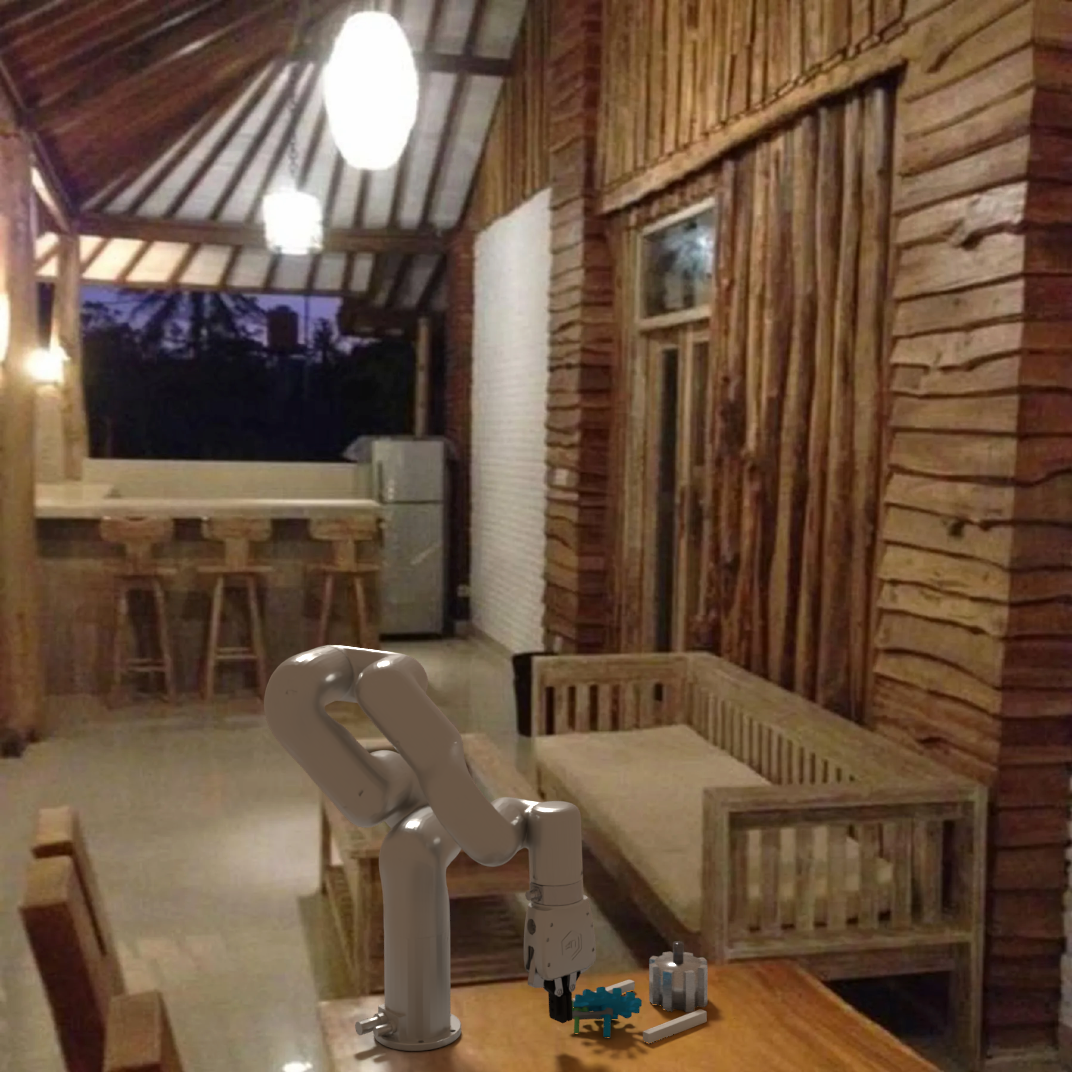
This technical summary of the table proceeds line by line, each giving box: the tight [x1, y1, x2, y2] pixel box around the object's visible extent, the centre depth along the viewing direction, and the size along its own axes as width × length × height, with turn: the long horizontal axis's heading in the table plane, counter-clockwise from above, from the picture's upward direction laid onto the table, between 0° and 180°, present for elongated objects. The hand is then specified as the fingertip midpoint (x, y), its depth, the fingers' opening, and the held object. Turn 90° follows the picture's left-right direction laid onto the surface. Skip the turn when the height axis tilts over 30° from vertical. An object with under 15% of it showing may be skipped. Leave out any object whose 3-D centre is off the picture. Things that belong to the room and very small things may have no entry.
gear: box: [572, 986, 643, 1038], centre depth 192 cm, size 11×6×10 cm
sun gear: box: [648, 940, 709, 1013], centre depth 204 cm, size 9×9×9 cm
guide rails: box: [572, 979, 708, 1044], centre depth 198 cm, size 12×16×2 cm
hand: (560, 1018), depth 187 cm, fingers closed
